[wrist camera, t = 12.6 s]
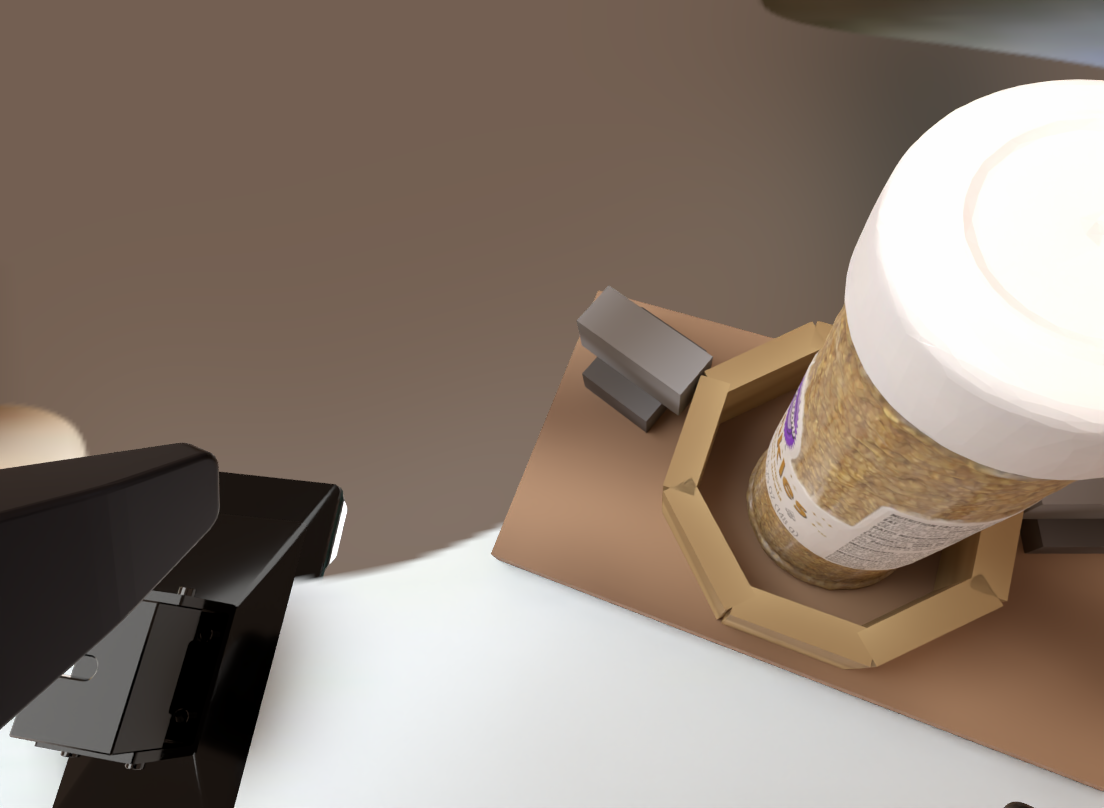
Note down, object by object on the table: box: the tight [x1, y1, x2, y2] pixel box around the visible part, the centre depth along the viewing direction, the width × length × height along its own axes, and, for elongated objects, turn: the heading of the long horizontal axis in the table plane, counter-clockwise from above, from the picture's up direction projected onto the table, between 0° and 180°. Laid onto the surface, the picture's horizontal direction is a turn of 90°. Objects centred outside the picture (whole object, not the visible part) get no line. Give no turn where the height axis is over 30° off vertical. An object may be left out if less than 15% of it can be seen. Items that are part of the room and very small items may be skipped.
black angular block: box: [9, 472, 348, 808], centre depth 20 cm, size 12×7×5 cm, turn 172°
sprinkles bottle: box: [746, 80, 1104, 590], centre depth 14 cm, size 5×5×13 cm
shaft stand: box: [491, 286, 1104, 792], centre depth 20 cm, size 9×16×4 cm, turn 69°
